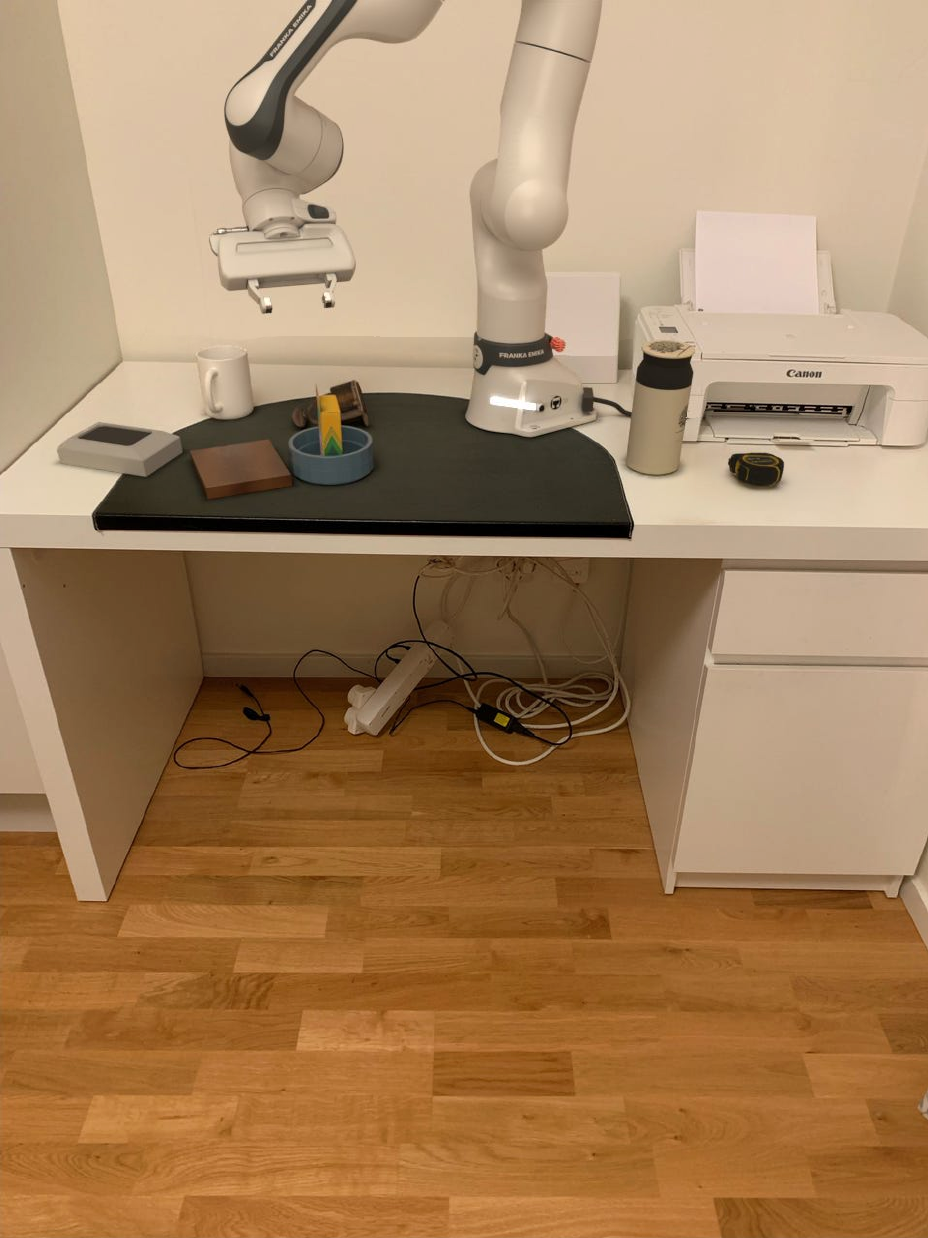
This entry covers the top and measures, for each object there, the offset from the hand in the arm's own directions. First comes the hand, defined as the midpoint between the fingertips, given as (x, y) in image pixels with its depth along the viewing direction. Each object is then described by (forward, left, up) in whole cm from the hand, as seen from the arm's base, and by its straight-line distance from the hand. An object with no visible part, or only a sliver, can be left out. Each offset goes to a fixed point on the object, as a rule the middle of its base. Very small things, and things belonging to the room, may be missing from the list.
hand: (299, 308), depth 129 cm
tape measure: (-56, +39, -21) cm, 72 cm away
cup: (+11, -16, -21) cm, 28 cm away
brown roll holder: (-5, -6, -21) cm, 22 cm away
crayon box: (0, +12, -20) cm, 24 cm away
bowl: (0, +12, -20) cm, 24 cm away
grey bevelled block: (+29, -4, -21) cm, 35 cm away
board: (+13, +9, -20) cm, 26 cm away
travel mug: (-45, +29, -21) cm, 58 cm away
